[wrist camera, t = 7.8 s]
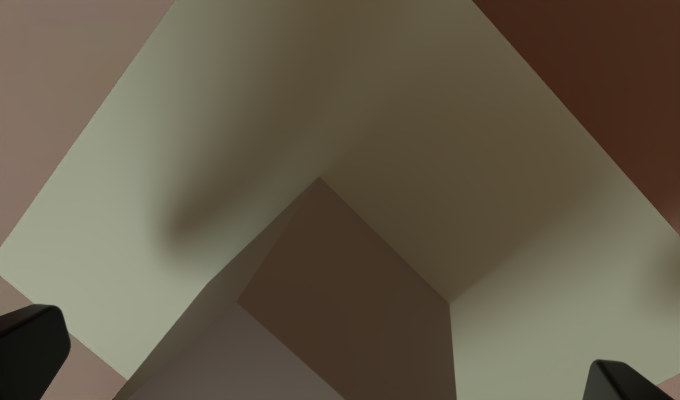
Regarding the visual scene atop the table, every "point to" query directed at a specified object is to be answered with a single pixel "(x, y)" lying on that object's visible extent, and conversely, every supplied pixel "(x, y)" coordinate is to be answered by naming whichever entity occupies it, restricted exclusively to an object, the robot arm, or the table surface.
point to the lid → (346, 216)
